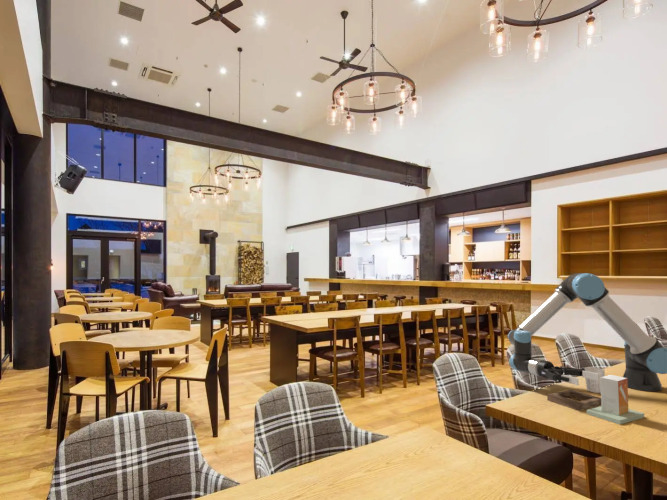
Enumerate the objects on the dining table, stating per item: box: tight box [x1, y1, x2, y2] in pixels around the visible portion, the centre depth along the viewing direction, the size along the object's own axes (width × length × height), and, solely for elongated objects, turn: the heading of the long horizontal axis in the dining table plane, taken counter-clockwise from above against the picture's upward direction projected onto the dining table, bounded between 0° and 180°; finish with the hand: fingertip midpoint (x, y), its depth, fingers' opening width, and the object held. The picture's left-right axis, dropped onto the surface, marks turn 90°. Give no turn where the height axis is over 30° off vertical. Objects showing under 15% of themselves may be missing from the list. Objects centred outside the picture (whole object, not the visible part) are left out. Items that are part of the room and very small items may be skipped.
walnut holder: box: [546, 389, 601, 412], centre depth 168 cm, size 16×14×2 cm
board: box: [585, 405, 645, 425], centre depth 152 cm, size 16×12×2 cm
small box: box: [600, 374, 629, 415], centre depth 153 cm, size 8×6×13 cm
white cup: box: [583, 366, 606, 394], centre depth 183 cm, size 8×8×10 cm
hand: (588, 379), depth 161 cm, fingers open, 13 cm apart
